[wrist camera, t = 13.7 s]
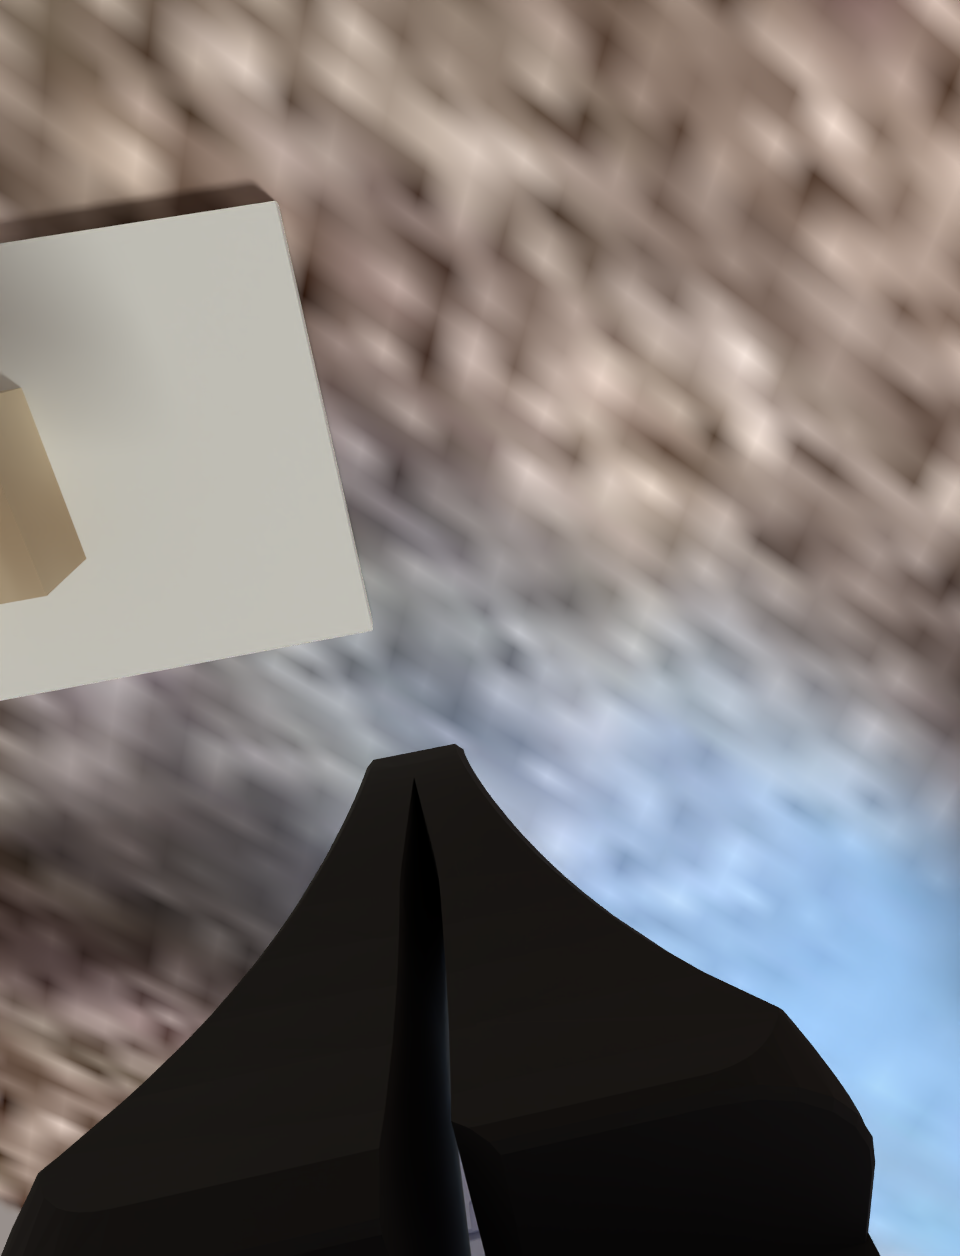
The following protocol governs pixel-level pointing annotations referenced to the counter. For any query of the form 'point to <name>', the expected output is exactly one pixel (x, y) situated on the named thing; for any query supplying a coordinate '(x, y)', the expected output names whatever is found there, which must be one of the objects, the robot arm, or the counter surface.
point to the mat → (175, 450)
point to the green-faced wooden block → (30, 510)
